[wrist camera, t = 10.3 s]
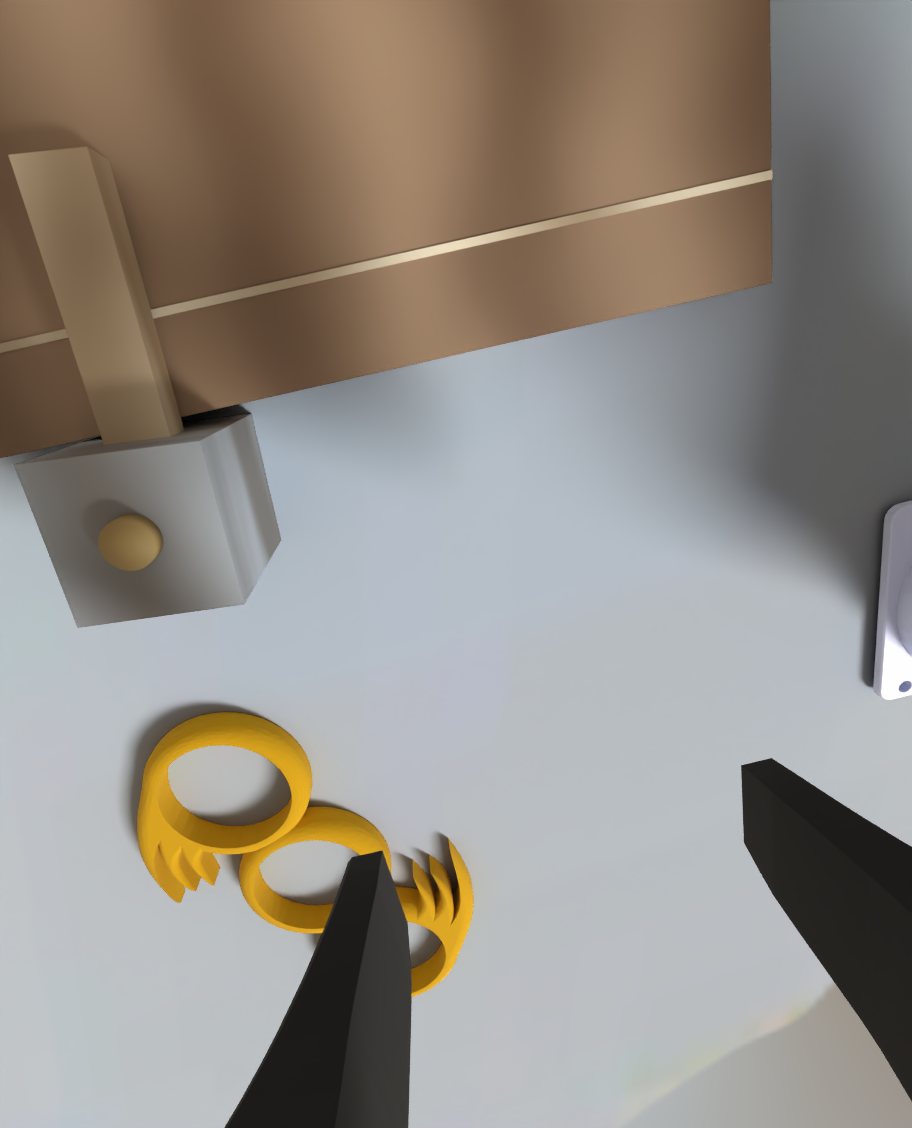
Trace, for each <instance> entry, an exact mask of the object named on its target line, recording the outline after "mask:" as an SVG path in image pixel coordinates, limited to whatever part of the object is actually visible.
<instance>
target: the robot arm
mask: <svg viewBox="0 0 912 1128" xmlns="http://www.w3.org/2000/svg"><path fill="white" fill-rule="evenodd" d="M902 682H903V683H902ZM901 683H902V684H901ZM900 684H901V685H900ZM873 688H874V692H875V693H876V694H877V695H878V696H880V697H881V698H882V699H885V700H891V699H895V698H899V697H904V696H908V695H912V501H907V502H903V503H899V504H896V505H894V506H893V507H891V508H890V509H889V510H888V512H887V513H886V515H885V519H884V531H883V546H882V562H881V577H880V593H879V608H878V623H877V639H876V654H875V670H874V685H873ZM741 771H742V798H743V826H744V843H745V845H746V847H747V849H748V851H749V852H750V854H751V856H752V858H753V860H754V862H755V864H756V865H757V867H758V869H759V871H760V873H761V874H762V876H763V878H764V880H765V881H766V883H767V885H768V887H769V888H770V890H771V892H772V894H773V895H774V897H775V898H776V900H777V901H778V903H779V904H780V906H781V907H782V908H783V910H784V911H785V913H786V914H787V916H788V917H789V918H790V920H791V921H792V923H793V924H794V926H795V927H796V928H797V930H798V931H799V933H800V934H801V936H802V937H803V938H804V940H805V941H806V943H807V944H808V946H809V947H810V948H811V950H812V951H813V953H814V954H815V955H816V957H817V958H818V960H819V961H820V962H821V964H822V965H823V967H824V968H825V969H826V971H827V972H828V974H829V975H830V977H831V978H832V979H833V981H834V982H835V984H836V985H837V986H838V988H839V989H840V990H841V992H842V993H843V995H844V996H845V998H846V999H847V1001H848V1002H849V1003H850V1005H851V1006H852V1007H853V1009H854V1010H855V1012H856V1013H857V1014H858V1016H859V1017H860V1019H861V1020H862V1022H863V1023H864V1025H865V1026H866V1028H867V1029H868V1031H869V1032H870V1034H871V1035H872V1037H873V1039H874V1040H875V1042H876V1043H877V1045H878V1046H879V1048H880V1049H881V1051H882V1052H883V1054H884V1056H885V1057H886V1059H887V1061H888V1062H889V1064H890V1066H891V1067H892V1069H893V1071H894V1072H895V1074H896V1076H897V1077H898V1079H899V1080H900V1082H901V1084H902V1086H903V1088H904V1089H905V1091H906V1092H907V1094H908V1096H909V1097H910V1099H911V1100H912V847H911V846H909V845H908V844H906V843H904V842H902V841H901V840H899V839H897V838H896V837H894V836H893V835H891V834H889V833H888V832H886V831H884V830H883V829H881V828H880V827H878V826H876V825H875V824H873V823H871V822H870V821H868V820H866V819H865V818H863V817H862V816H860V815H858V814H857V813H855V812H854V811H852V810H851V809H849V808H847V807H846V806H844V805H843V804H841V803H840V802H838V801H837V800H835V799H833V798H832V797H830V796H829V795H827V794H826V793H824V792H823V791H821V790H820V789H818V788H816V787H815V786H813V785H812V784H810V783H809V782H807V781H806V780H804V779H803V778H801V777H800V776H798V775H797V774H795V773H794V772H792V771H790V770H789V769H787V768H786V767H784V766H783V765H781V764H780V763H778V762H777V761H775V760H773V759H772V758H771V759H766V760H762V761H758V762H754V763H749V764H745V765H741ZM411 995H412V978H411V963H410V949H409V936H408V924H407V920H406V917H405V914H404V911H403V908H402V905H401V903H400V900H399V897H398V894H397V891H396V888H395V885H394V882H393V879H392V876H391V874H390V871H389V868H388V865H387V862H386V859H385V856H384V853H383V850H381V851H377V852H373V853H369V854H364V855H360V856H356V857H352V858H351V860H350V861H349V862H348V864H347V867H346V870H345V873H344V876H343V879H342V882H341V885H340V888H339V891H338V893H337V896H336V899H335V901H334V904H333V907H332V909H331V912H330V915H329V917H328V920H327V922H326V925H325V927H324V930H323V932H322V935H321V937H320V939H319V942H318V944H317V947H316V949H315V951H314V954H313V956H312V958H311V961H310V963H309V965H308V968H307V970H306V972H305V975H304V977H303V979H302V981H301V984H300V986H299V988H298V990H297V992H296V994H295V996H294V998H293V1000H292V1003H291V1005H290V1007H289V1009H288V1011H287V1013H286V1015H285V1017H284V1019H283V1021H282V1024H281V1026H280V1028H279V1030H278V1032H277V1034H276V1036H275V1038H274V1040H273V1042H272V1044H271V1045H270V1047H269V1049H268V1051H267V1053H266V1055H265V1057H264V1059H263V1061H262V1063H261V1064H260V1066H259V1068H258V1070H257V1072H256V1074H255V1075H254V1077H253V1079H252V1081H251V1083H250V1085H249V1086H248V1088H247V1090H246V1092H245V1094H244V1095H243V1097H242V1099H241V1101H240V1102H239V1104H238V1106H237V1107H236V1109H235V1111H234V1112H233V1114H232V1116H231V1118H230V1119H229V1121H228V1123H227V1124H226V1126H225V1128H408V1114H409V1076H410V1039H411Z"/></svg>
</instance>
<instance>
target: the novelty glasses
mask: <svg viewBox="0 0 912 1128" xmlns="http://www.w3.org/2000/svg"><path fill="white" fill-rule="evenodd" d="M213 745H228V746H236V747H241V748H245V749H248V750H251V751H253V752H256V753H258V754H260V755H262V756H264V757H265V758H267V759H268V760H270V761H271V762H273V763H274V764H275V765H276V766H277V767H278V768H279V769H280V770H281V772H282V773H283V775H284V776H285V777H286V779H287V781H288V783H289V786H290V789H291V795H292V797H291V799H290V801H289V802H288V804H287V805H286V806H285V807H284V808H283V809H282V810H281V811H280V812H279V813H277V814H275V815H274V816H272V817H271V818H269V819H267V820H264V821H262V822H259V823H256V824H251V825H245V826H226V825H220V824H215V823H211V822H208V821H206V820H203V819H201V818H199V817H197V816H195V815H194V814H192V813H191V812H189V811H188V810H187V809H185V808H184V807H183V806H182V805H181V804H180V802H179V801H178V800H177V799H176V797H175V796H174V794H173V792H172V791H171V788H170V784H169V780H168V767H169V765H170V764H171V763H172V762H173V761H174V760H175V759H177V758H178V757H180V756H181V755H183V754H185V753H187V752H189V751H191V750H194V749H198V748H201V747H206V746H213ZM311 788H312V773H311V767H310V763H309V761H308V758H307V756H306V754H305V752H304V750H303V749H302V747H301V746H300V745H299V743H298V742H297V741H296V740H295V739H294V738H293V737H292V736H291V735H290V734H289V733H288V732H286V731H285V730H284V729H282V728H281V727H279V726H277V725H276V724H274V723H272V722H270V721H268V720H265V719H263V718H260V717H257V716H253V715H249V714H244V713H237V712H217V713H209V714H204V715H200V716H197V717H194V718H191V719H189V720H187V721H185V722H182V723H181V724H179V725H178V726H176V727H175V728H173V729H172V730H171V731H169V732H168V733H167V734H166V735H165V736H164V737H163V738H162V739H161V740H160V741H159V743H158V744H157V745H156V747H155V749H154V750H153V752H152V754H151V755H150V757H149V759H148V761H147V763H146V766H145V769H144V773H143V779H142V790H141V795H140V800H139V807H138V815H137V838H138V844H139V849H140V853H141V856H142V859H143V861H144V863H145V865H146V867H147V869H148V871H149V872H150V874H151V875H152V877H153V878H154V879H155V881H156V882H157V883H158V884H159V886H160V887H161V888H162V889H163V890H164V891H165V892H166V893H167V894H168V895H169V896H170V897H171V898H172V899H173V900H174V901H175V902H181V901H182V898H183V895H184V893H185V888H184V886H185V887H187V888H188V889H190V890H193V891H196V890H197V887H198V884H199V881H200V879H201V877H202V878H203V879H204V880H205V881H207V882H208V883H209V884H211V885H214V884H215V881H216V878H217V875H218V872H219V869H220V866H219V864H218V862H217V861H216V859H215V857H214V855H213V854H212V853H215V854H241V853H243V856H242V860H241V863H240V868H239V882H240V887H241V891H242V893H243V896H244V898H245V900H246V901H247V903H248V904H249V906H250V907H251V908H252V909H253V911H254V912H256V913H257V914H258V915H259V916H260V917H261V918H263V919H264V920H266V921H267V922H269V923H271V924H273V925H275V926H277V927H280V928H283V929H285V930H289V931H294V932H300V933H322V932H323V930H324V927H325V925H326V922H327V920H328V917H329V915H330V912H331V909H332V907H333V904H334V903H332V904H326V905H306V904H301V903H297V902H293V901H290V900H288V899H286V898H283V897H281V896H280V895H278V894H277V893H275V892H274V891H273V890H272V889H271V888H270V887H269V886H268V885H267V884H266V882H265V881H264V879H263V878H262V875H261V872H260V869H259V865H260V864H261V863H262V862H263V860H264V859H265V858H267V857H268V856H269V855H270V854H271V853H273V852H274V851H276V850H278V849H280V848H282V847H284V846H286V845H289V844H292V843H296V842H301V841H310V840H322V841H330V842H334V843H338V844H341V845H344V846H346V847H348V848H350V849H352V850H354V851H355V852H357V853H358V854H359V855H364V854H369V853H373V852H377V851H381V850H383V853H384V856H385V859H386V862H387V865H388V868H389V871H390V874H391V855H390V851H389V848H388V845H387V842H386V840H385V839H384V837H383V836H382V834H381V833H380V831H379V830H378V829H377V828H376V827H375V826H374V825H372V824H371V823H370V822H369V821H367V820H366V819H364V818H362V817H361V816H359V815H356V814H354V813H352V812H349V811H346V810H343V809H339V808H333V807H324V806H314V807H307V806H308V803H309V799H310V795H311ZM449 849H450V853H451V857H452V860H453V864H454V867H455V871H456V875H457V879H458V883H457V888H456V891H455V893H454V895H453V894H452V886H451V881H450V878H449V875H448V873H447V871H446V870H445V868H444V867H443V865H442V864H441V863H440V862H439V861H438V860H436V859H435V858H434V857H432V856H431V855H429V861H430V873H431V874H432V876H433V878H434V880H435V881H436V883H437V886H438V887H437V889H436V890H435V891H434V887H433V885H432V882H431V880H430V878H429V877H428V875H427V874H426V873H425V872H424V871H423V870H422V869H421V868H420V867H419V866H418V864H417V863H416V862H415V861H414V860H413V878H414V881H415V883H416V886H417V888H418V889H415V888H409V887H395V888H396V891H397V894H398V897H399V900H400V903H401V905H402V908H403V911H404V914H405V917H406V920H407V922H412V923H416V924H419V925H422V926H424V927H426V928H428V929H429V930H431V931H432V932H434V933H435V934H436V935H437V936H438V937H439V938H440V940H441V941H442V944H441V945H440V947H439V949H438V950H437V952H436V953H435V954H434V955H433V956H432V957H431V958H430V959H429V960H427V961H426V962H424V963H423V964H421V965H419V966H417V967H415V968H412V969H411V978H412V995H411V997H413V996H416V995H419V994H421V993H423V992H425V991H427V990H429V989H431V988H432V987H434V986H435V985H436V984H438V983H439V982H440V981H441V980H442V979H443V978H444V977H445V976H446V975H447V974H448V973H449V971H450V970H451V969H452V967H453V965H454V964H455V961H456V959H457V956H458V953H459V951H460V949H461V947H462V944H463V942H464V939H465V937H466V934H467V932H468V929H469V925H470V922H471V918H472V913H473V889H472V883H471V878H470V875H469V872H468V870H467V867H466V865H465V863H464V861H463V859H462V857H461V856H460V854H459V853H458V851H457V849H456V848H455V847H454V845H453V844H452V843H451V841H450V840H449ZM183 885H184V886H183Z"/></svg>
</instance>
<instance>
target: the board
mask: <svg viewBox="0 0 912 1128" xmlns="http://www.w3.org/2000/svg"><path fill="white" fill-rule="evenodd" d="M78 147H89V148H90V149H92V150H94V151H95V152H97V153H98V154H100V155H102V156H103V157H105V158H107V159H108V160H109V162H110V165H111V169H112V173H113V176H114V180H115V183H116V187H117V191H118V194H119V198H120V201H121V205H122V209H123V212H124V216H125V219H126V223H127V226H128V230H129V234H130V237H131V241H132V244H133V248H134V252H135V255H136V259H137V262H138V266H139V270H140V273H141V277H142V280H143V284H144V288H145V291H146V295H147V298H148V302H149V306H150V309H151V313H152V316H153V320H154V323H155V327H156V331H157V334H158V338H159V341H160V345H161V349H162V352H163V356H164V359H165V363H166V367H167V370H168V374H169V377H170V381H171V385H172V388H173V392H174V395H175V399H176V403H177V406H178V410H179V413H180V417H184V416H188V415H193V414H197V413H202V412H206V411H210V410H215V409H219V408H224V407H228V406H232V405H237V404H241V403H246V402H250V401H254V400H259V399H263V398H268V397H272V396H276V395H281V394H285V393H290V392H294V391H298V390H303V389H307V388H312V387H316V386H320V385H325V384H329V383H334V382H338V381H342V380H347V379H351V378H356V377H360V376H364V375H369V374H373V373H378V372H382V371H386V370H391V369H395V368H400V367H404V366H408V365H413V364H417V363H422V362H426V361H430V360H435V359H439V358H444V357H448V356H452V355H457V354H461V353H466V352H470V351H474V350H479V349H483V348H488V347H492V346H496V345H501V344H505V343H510V342H514V341H518V340H523V339H527V338H532V337H536V336H540V335H545V334H549V333H554V332H558V331H562V330H567V329H571V328H576V327H580V326H584V325H589V324H593V323H598V322H602V321H606V320H611V319H615V318H620V317H624V316H628V315H633V314H637V313H642V312H646V311H650V310H655V309H659V308H664V307H668V306H672V305H677V304H681V303H686V302H690V301H694V300H699V299H703V298H708V297H712V296H716V295H721V294H725V293H730V292H734V291H738V290H743V289H747V288H752V287H756V286H760V285H765V284H769V283H772V196H771V179H773V174H772V170H771V76H770V0H0V458H3V457H8V456H12V455H17V454H21V453H25V452H30V451H34V450H39V449H43V448H48V447H52V446H56V445H61V444H65V443H70V442H74V441H78V440H83V439H87V438H92V437H96V436H100V435H101V434H100V431H99V428H98V425H97V422H96V419H95V416H94V413H93V410H92V407H91V404H90V401H89V398H88V395H87V392H86V389H85V386H84V383H83V380H82V377H81V374H80V371H79V368H78V365H77V362H76V359H75V355H74V352H73V349H72V346H71V343H70V340H69V337H68V334H67V331H66V328H65V325H64V322H63V319H62V316H61V313H60V310H59V307H58V304H57V301H56V298H55V295H54V292H53V289H52V286H51V283H50V280H49V277H48V274H47V271H46V268H45V265H44V262H43V259H42V256H41V253H40V250H39V247H38V243H37V240H36V237H35V234H34V231H33V228H32V225H31V222H30V219H29V216H28V213H27V210H26V207H25V204H24V201H23V198H22V195H21V192H20V189H19V186H18V183H17V180H16V177H15V174H14V171H13V168H12V165H11V162H10V159H9V156H8V155H11V154H21V153H31V152H40V151H50V150H59V149H69V148H78Z"/></svg>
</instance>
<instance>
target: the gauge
mask: <svg viewBox="0 0 912 1128" xmlns="http://www.w3.org/2000/svg"><path fill="white" fill-rule="evenodd" d="M8 156H9V159H10V162H11V165H12V168H13V171H14V174H15V177H16V180H17V183H18V186H19V189H20V192H21V195H22V198H23V201H24V204H25V207H26V210H27V213H28V216H29V219H30V222H31V225H32V228H33V231H34V234H35V237H36V240H37V243H38V247H39V250H40V253H41V256H42V259H43V262H44V265H45V268H46V271H47V274H48V277H49V280H50V283H51V286H52V289H53V292H54V295H55V298H56V301H57V304H58V307H59V310H60V313H61V316H62V319H63V322H64V325H65V328H66V331H67V334H68V337H69V340H70V343H71V346H72V349H73V352H74V355H75V359H76V362H77V365H78V368H79V371H80V374H81V377H82V380H83V383H84V386H85V389H86V392H87V395H88V398H89V401H90V404H91V407H92V410H93V413H94V416H95V419H96V422H97V425H98V428H99V431H100V434H101V436H99V437H96V438H93V439H90V440H87V441H84V442H81V443H78V444H75V445H72V446H69V447H66V448H63V449H60V450H57V451H54V452H51V453H48V454H45V455H42V456H39V457H36V458H33V459H30V460H27V461H24V462H21V463H18V464H15V465H14V466H15V469H16V471H17V474H18V476H19V479H20V481H21V484H22V486H23V489H24V492H25V494H26V497H27V499H28V502H29V504H30V507H31V509H32V512H33V515H34V517H35V520H36V522H37V525H38V527H39V530H40V533H41V535H42V538H43V540H44V543H45V545H46V548H47V550H48V553H49V556H50V558H51V561H52V563H53V566H54V568H55V571H56V573H57V576H58V579H59V581H60V584H61V586H62V589H63V591H64V594H65V597H66V599H67V602H68V604H69V607H70V609H71V612H72V614H73V617H74V620H75V622H76V625H77V627H78V628H80V627H87V626H94V625H101V624H108V623H116V622H123V621H130V620H137V619H144V618H151V617H158V616H165V615H172V614H179V613H186V612H194V611H201V610H208V609H215V608H222V607H229V606H236V605H243V604H245V602H246V600H247V599H248V597H249V595H250V593H251V592H252V590H253V588H254V586H255V585H256V583H257V581H258V579H259V578H260V576H261V574H262V572H263V571H264V569H265V567H266V565H267V564H268V562H269V560H270V558H271V557H272V555H273V553H274V551H275V550H276V548H277V546H278V544H279V543H280V541H281V537H280V533H279V529H278V524H277V520H276V516H275V512H274V507H273V503H272V499H271V495H270V490H269V486H268V482H267V478H266V473H265V469H264V465H263V460H262V456H261V452H260V448H259V443H258V439H257V435H256V431H255V426H254V422H253V418H252V414H247V415H239V416H231V417H223V418H215V419H207V420H199V421H191V422H183V423H182V420H181V417H180V413H179V410H178V406H177V403H176V399H175V395H174V392H173V388H172V385H171V381H170V377H169V374H168V370H167V367H166V363H165V359H164V356H163V352H162V349H161V345H160V341H159V338H158V334H157V331H156V327H155V323H154V320H153V316H152V313H151V309H150V306H149V302H148V298H147V295H146V291H145V288H144V284H143V280H142V277H141V273H140V270H139V266H138V262H137V259H136V255H135V252H134V248H133V244H132V241H131V237H130V234H129V230H128V226H127V223H126V219H125V216H124V212H123V209H122V205H121V201H120V198H119V194H118V191H117V187H116V183H115V180H114V176H113V173H112V169H111V165H110V162H109V160H108V159H107V158H105V157H103V156H102V155H100V154H98V153H97V152H95V151H94V150H92V149H90V148H89V147H78V148H69V149H59V150H50V151H40V152H31V153H21V154H11V155H8Z"/></svg>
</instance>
